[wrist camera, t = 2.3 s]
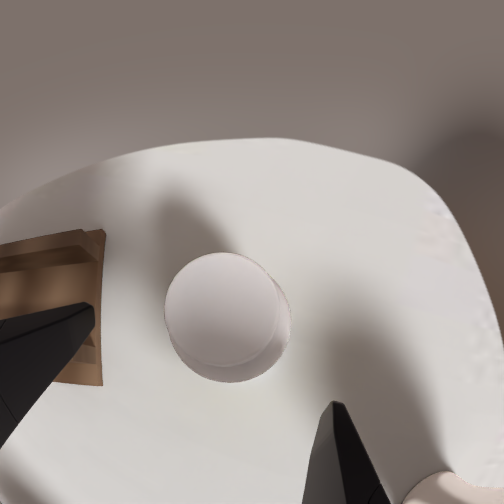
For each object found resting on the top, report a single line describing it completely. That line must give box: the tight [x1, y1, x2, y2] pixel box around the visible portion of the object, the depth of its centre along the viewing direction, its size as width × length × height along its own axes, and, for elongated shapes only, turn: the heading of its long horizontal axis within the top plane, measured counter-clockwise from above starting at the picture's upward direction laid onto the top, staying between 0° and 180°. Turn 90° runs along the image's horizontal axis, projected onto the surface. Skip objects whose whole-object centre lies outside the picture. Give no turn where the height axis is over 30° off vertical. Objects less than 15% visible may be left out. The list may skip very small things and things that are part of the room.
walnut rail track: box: [0, 229, 106, 386], centre depth 17 cm, size 17×12×4 cm
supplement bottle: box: [164, 252, 291, 383], centre depth 14 cm, size 5×5×10 cm
